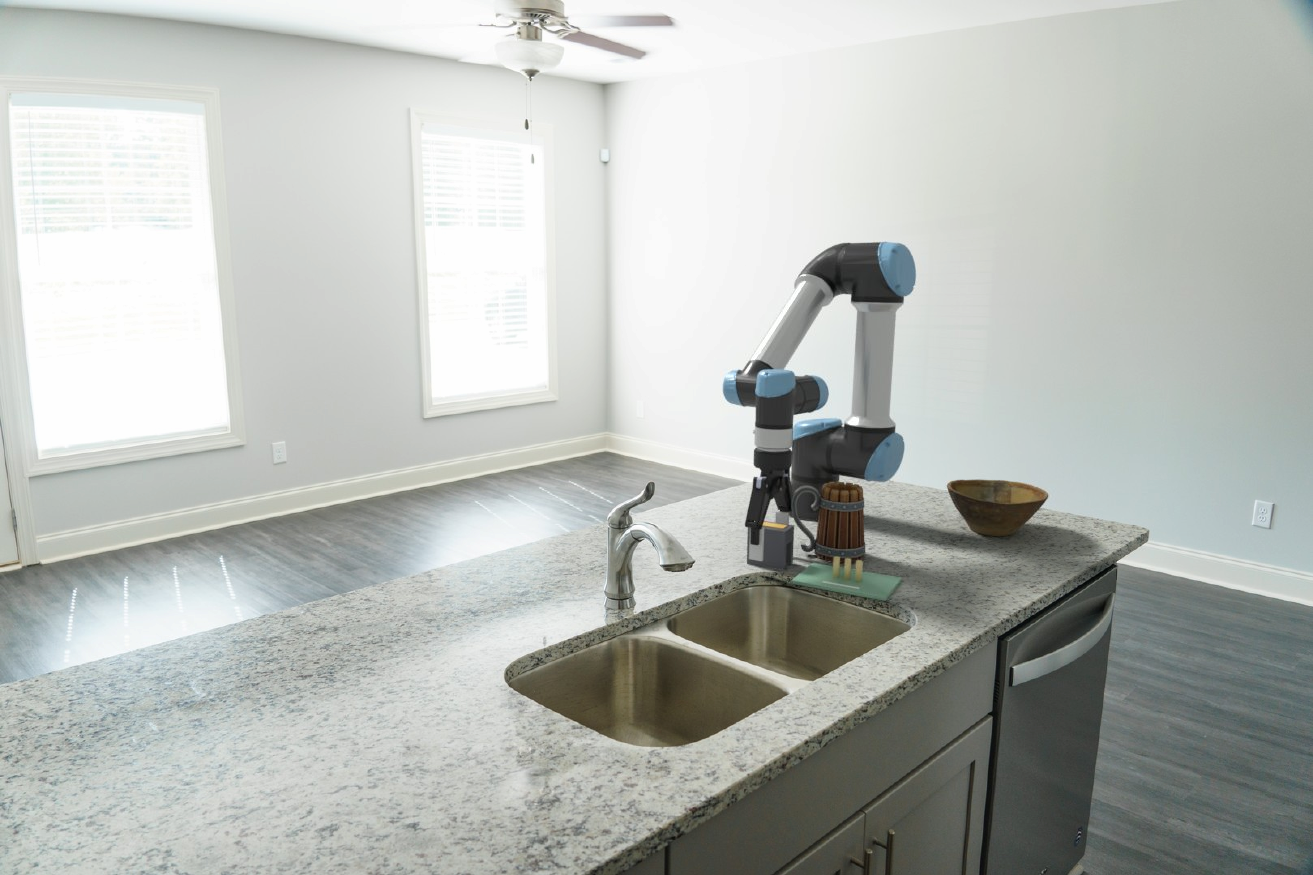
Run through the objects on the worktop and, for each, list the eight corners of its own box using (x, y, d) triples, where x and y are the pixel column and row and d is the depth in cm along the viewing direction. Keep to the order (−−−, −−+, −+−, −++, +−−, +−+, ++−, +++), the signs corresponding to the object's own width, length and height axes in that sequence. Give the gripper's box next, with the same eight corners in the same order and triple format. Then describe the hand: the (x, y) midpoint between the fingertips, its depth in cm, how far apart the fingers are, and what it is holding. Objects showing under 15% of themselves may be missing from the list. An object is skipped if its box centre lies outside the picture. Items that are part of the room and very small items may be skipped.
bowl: (1053, 526, 207) (1056, 484, 205) (1035, 552, 188) (1039, 506, 186) (957, 512, 218) (960, 472, 217) (931, 535, 200) (934, 492, 198)
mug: (861, 548, 190) (864, 480, 187) (868, 565, 179) (872, 493, 176) (788, 546, 191) (790, 479, 188) (791, 562, 181) (793, 491, 178)
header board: (812, 565, 179) (813, 543, 178) (901, 580, 170) (903, 557, 169) (791, 583, 169) (792, 560, 168) (885, 600, 160) (886, 576, 159)
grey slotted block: (756, 556, 184) (757, 518, 183) (792, 563, 180) (794, 524, 179) (746, 563, 180) (747, 524, 178) (783, 570, 176) (785, 530, 175)
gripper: (778, 436, 188) (774, 532, 192) (729, 456, 167) (726, 564, 170) (812, 440, 185) (807, 538, 188) (766, 460, 163) (762, 570, 167)
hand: (769, 550), depth 179 cm, fingers open, 13 cm apart
